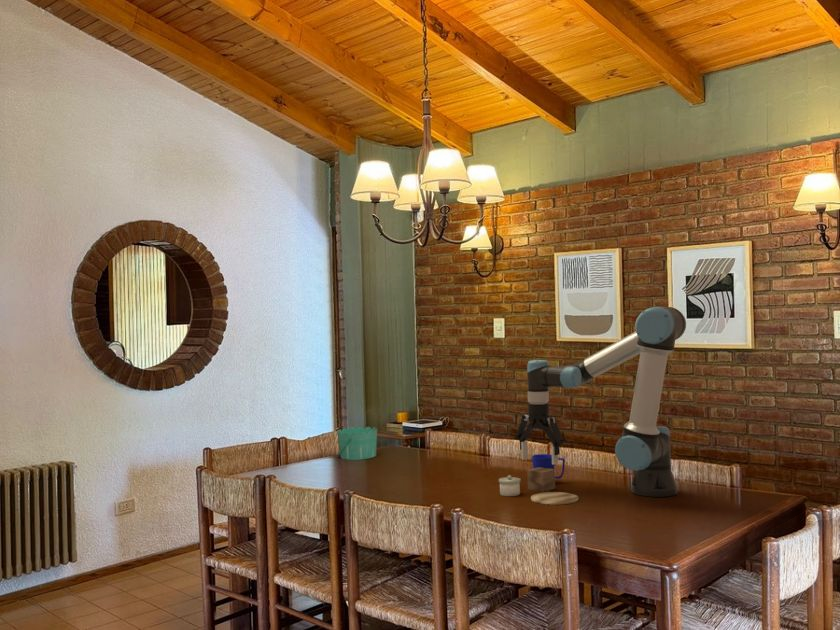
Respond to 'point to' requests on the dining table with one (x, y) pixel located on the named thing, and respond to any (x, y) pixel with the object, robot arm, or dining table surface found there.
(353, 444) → the basket
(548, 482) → the block
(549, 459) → the mug
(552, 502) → the trivet
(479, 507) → the dining table surface
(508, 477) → the sugar bowl
